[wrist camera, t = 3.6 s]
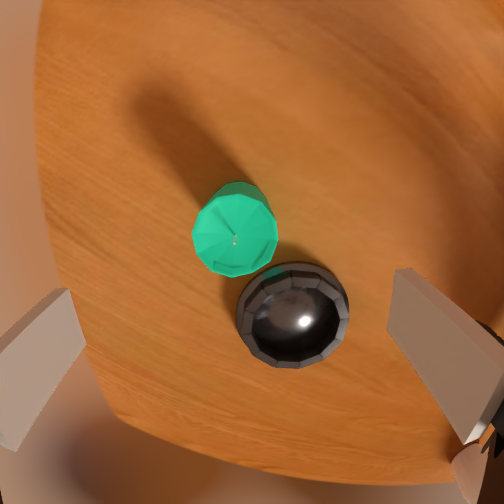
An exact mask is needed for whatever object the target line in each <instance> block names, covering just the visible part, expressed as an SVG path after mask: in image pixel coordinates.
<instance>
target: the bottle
mask: <svg viewBox="0 0 504 504" xmlns="http://www.w3.org/2000/svg"><path fill="white" fill-rule="evenodd" d="M482 448H483V447H482V446H481V445H480V444H477V443H474V444H472V445H469V446H468V447H466V448H465V449H463V450H462V451H461V452H459V453H458V454H457V455H456V456H455V457H454V458H453V460H452V463H451V465H452V469H453V472H454V475H455V479H456V481H457V483H458V486H459V488H460V491H461V493H462V495H463V497H464V498H465V499H466V500H467V502H468V503H469V504H477V500H478V497H479V493H480V489H481V485H482V481H483V477H484V472H485V468H486V463H487V458H488V455H487V454H488V453H487V452H486V451H485V452H484V453H483V454H482V453H481V450H482Z"/></svg>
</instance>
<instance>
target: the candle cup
mask: <svg viewBox="0 0 504 504" xmlns="http://www.w3.org/2000/svg"><path fill="white" fill-rule="evenodd" d="M348 314H349V303H348V298H347V295H346V292H345V290H344V288H343V287H342V285H341V283H340V282H339V281H338V280H337V278H336V277H335V276H334V275H333V274H332V273H330V272H329V271H328V270H326V269H325V268H323V267H320V266H318V265H315V264H312V263H308V262H298V261H294V262H285V263H281V264H277V265H274V266H272V267H270V268H267V269H265V270H264V271H262V272H261V273H259V274H258V275H256V276H255V277H254V278H253V279H252V280H251V281H250V282H249V283H248V284H247V286H246V287H245V288H244V290H243V292H242V294H241V295H240V298H239V301H238V304H237V309H236V324H237V329H238V332H239V334H240V336H241V338H242V340H243V342H244V343H245V344H246V345H247V347H248V348H249V350H250V352H251V353H252V355H253V356H254V357H256V358H258V359H260V360H261V361H263V362H265V363H267V364H269V365H270V366H272V367H274V366H275V368H295V369H299V367H300V368H303V367H306V366H309V365H311V364H314V363H316V362H319V361H321V360H324V359H323V358H326V357H327V356H328V355H329V354H330V353H331V352H332V351H333V350H334V349H335V348H336V347H337V346H338V345H339V344H340V343H341V342H342V341H341V340H343V338H344V335H345V332H346V328H347V325H348V321H349V315H348Z"/></svg>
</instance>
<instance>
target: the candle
mask: <svg viewBox="0 0 504 504" xmlns="http://www.w3.org/2000/svg"><path fill="white" fill-rule="evenodd" d="M192 238H193V242H194V246H195V250H196V254H197V256H198V257H199V258H200V259H201V260H202V261H203V262H204V264H205V265H206V266H207V267H208V268H209V269H210V270H211V271H213V272H216V273H219V274H222V275H225V276H228V277H231V278H233V277H237V276H241V275H246V274H250V273H253V272H255V271H256V270H258V269H260V268H261V267H263V266H264V265H266V264H267V263H269V262H270V261H271V258H272V256H273V253H274V251H275V248H276V245H277V243H278V233H277V225H276V219H275V217H274V215H273V212H272V210H271V208H270V206H269V204H268V201H267V199H266V198H265V196H264V195H263V194H262V193H261V192H260V190H259V189H258V188H257V187H256V186H254V185H251V184H248V183H246V182H243V181H239V182H233V183H227V184H225V185H224V186H223V187H222V188H221V189H219V190H218V191H217V192H216V193H215V194H214V195H213V196H212V197H211V198H210V200H209V201H208V202H207V203H206V205H205V206H204V207H203V208H202V209H201V211H200V212H199V214H198V217H197V220H196V223H195V226H194V228H193V231H192Z"/></svg>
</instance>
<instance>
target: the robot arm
mask: <svg viewBox="0 0 504 504" xmlns="http://www.w3.org/2000/svg"><path fill="white" fill-rule="evenodd" d="M387 331H388V333H389V334H390V335H391V337H392V338H393V339H394V341H395V342H396V344H397V345H398V346H399V348H400V349H401V351H402V352H403V354H404V355H405V356H406V358H407V359H408V361H409V362H410V364H411V365H412V366H413V368H414V369H415V371H416V372H417V374H418V375H419V377H420V378H421V380H422V381H423V383H424V384H425V386H426V387H427V389H428V390H429V392H430V393H431V395H432V396H433V398H434V399H435V401H436V402H437V404H438V405H439V407H440V408H441V410H442V412H443V413H444V415H445V416H446V418H447V419H448V421H449V423H450V424H451V426H452V427H453V429H454V431H455V432H456V434H457V436H458V437H459V439H460V440H461V442H462V444H463V445H465V444H467V443H469V442H471V441H473V440H475V439H478V438H480V437H482V436H483V434H484V432H485V431H486V429H487V428H488V426H489V424H490V423H492V425H493V426H494V427H495V430H494V432H493V433H492V435H491V436H490V438H489V439H488V441H487V442H486V444H485V445H484V446H483V448H482V450H481V453H482V454H483V453H484V452H485V450H486V449H487V448H488V446H489V452H488V454H487V455H488V458H487V463H486V468H485V472H484V477H483V481H482V485H481V489H480V493H479V497H478V500H477V504H504V340H503V339H502V338H501V337H499V336H497V334H496V333H495V332H494V331H493V330H492V329H491V328H489V327H488V326H487V325H485V324H483V323H481V322H479V321H477V320H474V319H473V318H471V317H470V316H469V315H468V314H467V313H466V312H465V311H463V310H462V309H461V308H460V307H459V306H458V305H456V304H455V303H454V302H453V301H452V300H450V299H449V298H448V297H447V296H446V295H444V294H443V293H442V292H441V291H440V290H438V289H437V288H436V287H435V286H433V285H432V284H431V283H430V282H428V281H427V280H426V279H425V278H423V277H422V276H421V275H420V274H418V273H417V272H416V271H414V270H413V269H412V268H406V269H396V270H395V275H394V283H393V291H392V299H391V306H390V312H389V319H388V325H387ZM85 345H86V342H85V339H84V336H83V333H82V330H81V327H80V324H79V321H78V318H77V315H76V311H75V308H74V305H73V301H72V298H71V294H70V291H69V288H57V289H54V290H53V291H52V292H51V293H49V294H48V295H47V296H46V297H45V298H44V299H42V300H41V301H40V302H39V303H38V304H37V305H35V306H34V307H33V308H32V309H31V310H30V311H29V312H27V314H25V315H24V316H23V317H22V318H21V319H20V320H19V321H18V322H16V323H15V324H14V325H13V326H12V327H11V328H10V329H9V330H8V331H7V332H6V333H5V334H4V335H2V336H1V337H0V445H1V446H3V447H5V448H7V449H10V450H12V451H14V452H16V451H17V450H18V448H19V446H20V444H21V443H22V441H23V439H24V438H25V436H26V434H27V433H28V431H29V429H30V428H31V426H32V424H33V423H34V421H35V420H36V418H37V416H38V415H39V413H40V412H41V410H42V408H43V407H44V405H45V404H46V402H47V401H48V399H49V398H50V396H51V395H52V393H53V392H54V390H55V389H56V387H57V385H58V384H59V383H60V381H61V380H62V378H63V377H64V375H65V374H66V372H67V371H68V369H69V368H70V367H71V365H72V364H73V362H74V361H75V359H76V358H77V357H78V355H79V354H80V352H81V351H82V350H83V348H84V347H85ZM0 504H3V501H2V496H1V491H0Z"/></svg>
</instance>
